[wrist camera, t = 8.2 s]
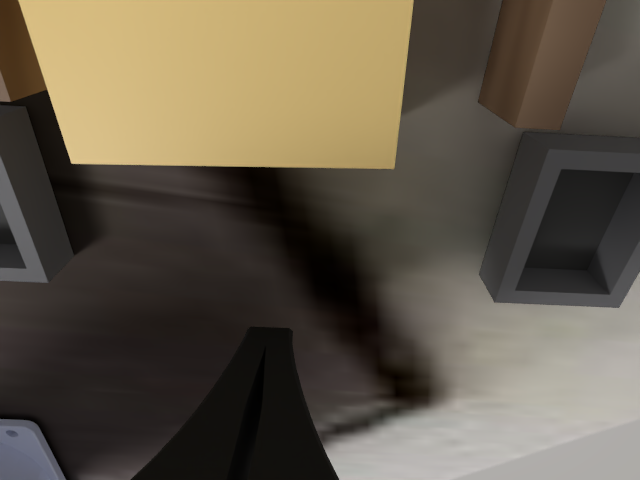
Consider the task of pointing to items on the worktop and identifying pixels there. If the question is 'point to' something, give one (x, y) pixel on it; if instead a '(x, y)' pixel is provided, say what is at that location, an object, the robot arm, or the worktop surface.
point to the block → (225, 80)
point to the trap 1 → (27, 206)
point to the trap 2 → (567, 223)
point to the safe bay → (500, 76)
